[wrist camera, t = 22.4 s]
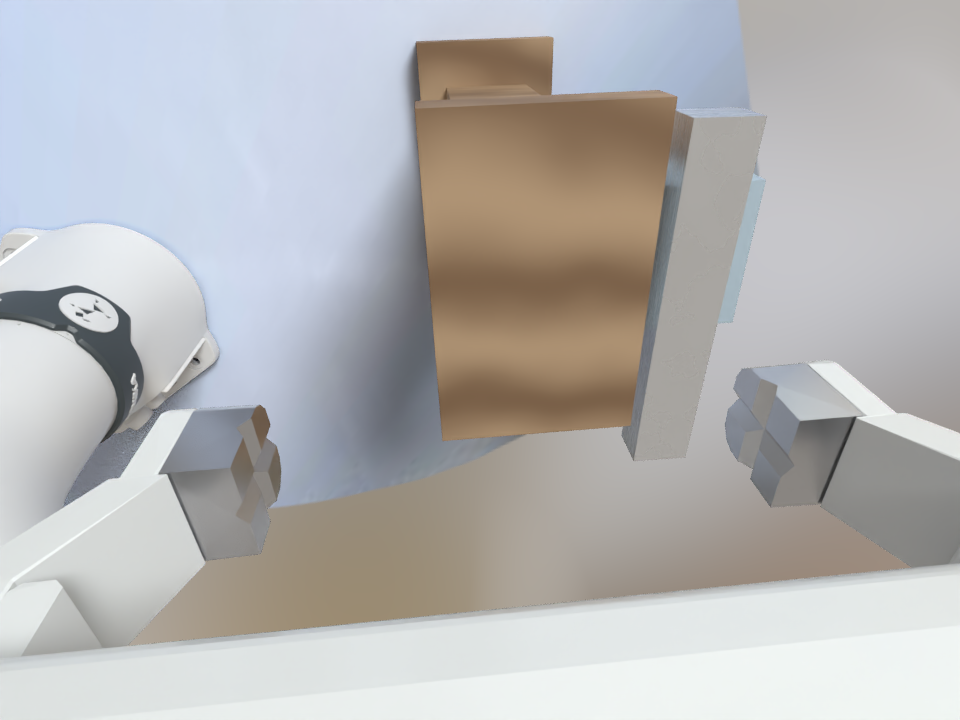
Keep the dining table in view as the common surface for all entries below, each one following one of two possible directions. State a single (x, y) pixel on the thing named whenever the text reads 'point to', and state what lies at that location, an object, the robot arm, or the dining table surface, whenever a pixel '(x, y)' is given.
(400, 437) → the dining table surface
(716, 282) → the aluminium bar
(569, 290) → the walnut stand
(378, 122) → the dining table surface
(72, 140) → the dining table surface
